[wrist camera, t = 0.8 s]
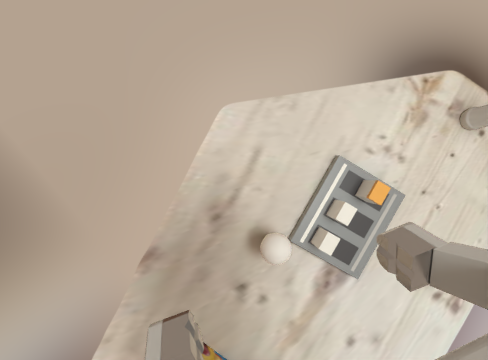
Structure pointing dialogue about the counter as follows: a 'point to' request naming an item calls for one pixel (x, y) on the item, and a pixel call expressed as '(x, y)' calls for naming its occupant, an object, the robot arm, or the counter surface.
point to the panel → (337, 227)
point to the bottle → (475, 118)
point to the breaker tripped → (373, 191)
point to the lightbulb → (276, 248)
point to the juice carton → (211, 354)
